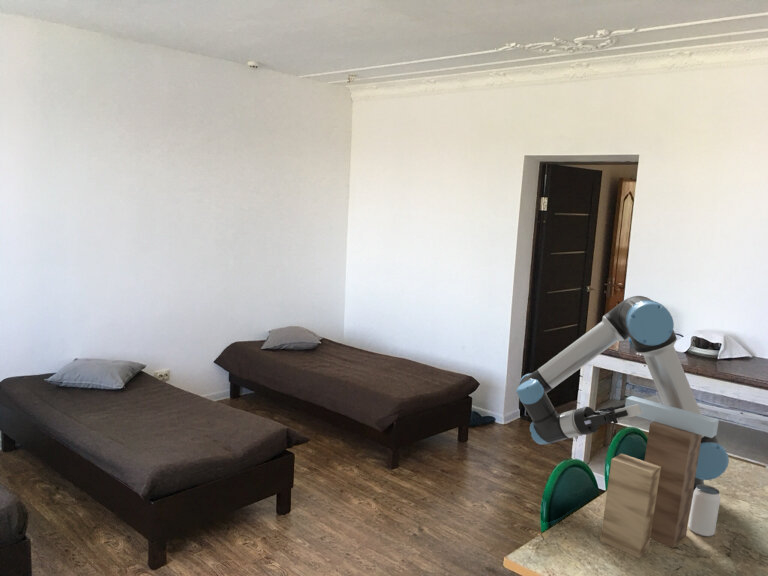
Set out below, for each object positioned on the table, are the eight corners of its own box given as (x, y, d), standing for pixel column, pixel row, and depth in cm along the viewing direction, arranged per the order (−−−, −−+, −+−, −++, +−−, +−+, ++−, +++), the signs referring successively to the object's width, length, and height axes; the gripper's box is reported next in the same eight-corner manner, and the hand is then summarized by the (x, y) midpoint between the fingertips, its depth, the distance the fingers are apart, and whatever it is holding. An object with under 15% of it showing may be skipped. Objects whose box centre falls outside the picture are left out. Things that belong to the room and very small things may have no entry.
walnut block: (648, 519, 172) (663, 416, 168) (686, 535, 165) (703, 427, 161) (634, 531, 165) (649, 423, 161) (673, 548, 158) (690, 435, 154)
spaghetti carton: (624, 412, 168) (626, 398, 168) (630, 409, 171) (632, 395, 171) (711, 438, 154) (714, 422, 153) (716, 434, 156) (718, 419, 156)
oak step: (610, 532, 163) (621, 453, 160) (648, 549, 156) (661, 466, 153) (600, 540, 159) (611, 459, 156) (639, 558, 152) (652, 473, 149)
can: (717, 539, 165) (724, 496, 163) (691, 534, 166) (698, 492, 164) (710, 527, 171) (716, 486, 169) (685, 522, 172) (691, 482, 171)
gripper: (603, 426, 188) (671, 409, 174) (564, 444, 169) (636, 428, 156) (594, 401, 189) (660, 383, 175) (554, 417, 171) (625, 398, 157)
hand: (649, 404), depth 166 cm, fingers open, 13 cm apart
